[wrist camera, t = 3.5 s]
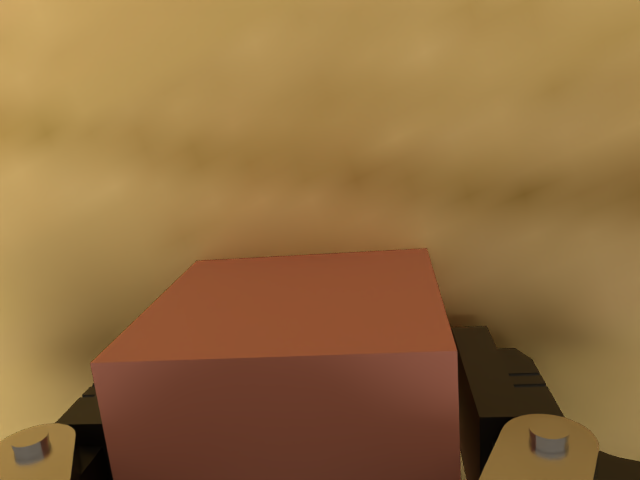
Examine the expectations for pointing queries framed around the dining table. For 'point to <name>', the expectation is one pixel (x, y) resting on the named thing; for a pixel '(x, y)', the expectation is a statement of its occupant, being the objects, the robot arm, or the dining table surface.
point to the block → (287, 373)
